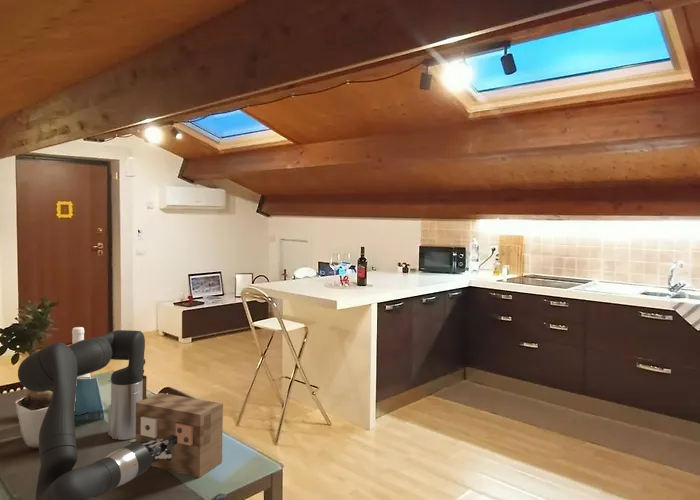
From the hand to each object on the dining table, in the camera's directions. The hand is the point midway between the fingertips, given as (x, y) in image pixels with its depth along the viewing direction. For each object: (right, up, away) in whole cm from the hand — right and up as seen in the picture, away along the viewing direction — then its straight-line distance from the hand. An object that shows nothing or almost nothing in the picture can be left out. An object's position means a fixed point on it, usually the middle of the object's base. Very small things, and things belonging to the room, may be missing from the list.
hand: (175, 438), depth 140 cm
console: (-3, -11, +11) cm, 16 cm away
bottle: (-50, -8, +48) cm, 70 cm away
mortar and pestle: (-31, -8, +56) cm, 64 cm away
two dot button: (+2, -2, +5) cm, 6 cm away
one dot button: (-9, -2, +10) cm, 14 cm away
